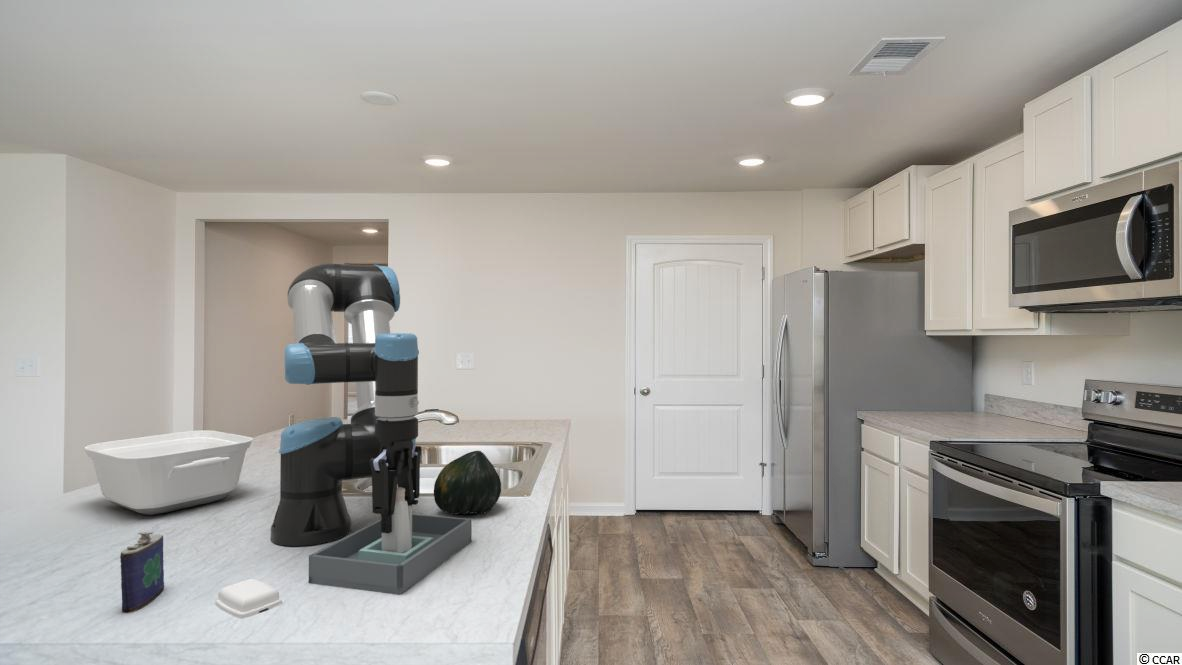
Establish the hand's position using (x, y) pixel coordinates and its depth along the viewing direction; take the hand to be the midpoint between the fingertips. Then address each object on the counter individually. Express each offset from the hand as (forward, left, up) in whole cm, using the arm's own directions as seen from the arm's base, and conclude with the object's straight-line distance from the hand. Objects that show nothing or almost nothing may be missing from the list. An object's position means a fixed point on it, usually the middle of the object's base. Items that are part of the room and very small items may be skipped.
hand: (397, 544), depth 115 cm
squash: (-1, +31, -3) cm, 31 cm away
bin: (0, 0, -3) cm, 3 cm away
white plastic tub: (-73, +18, -3) cm, 75 cm away
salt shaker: (0, 0, -1) cm, 1 cm away
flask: (-29, -25, -3) cm, 38 cm away
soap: (-12, -22, -3) cm, 25 cm away
